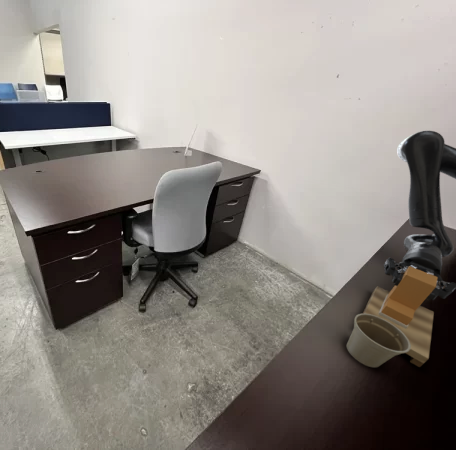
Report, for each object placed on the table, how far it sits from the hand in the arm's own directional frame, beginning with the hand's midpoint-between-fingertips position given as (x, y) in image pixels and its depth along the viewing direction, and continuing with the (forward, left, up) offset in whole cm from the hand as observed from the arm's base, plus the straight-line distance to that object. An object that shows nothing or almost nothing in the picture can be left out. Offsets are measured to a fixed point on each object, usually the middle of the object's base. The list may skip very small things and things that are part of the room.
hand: (413, 289), depth 58 cm
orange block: (0, -1, -8) cm, 8 cm away
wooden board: (0, +1, -12) cm, 12 cm away
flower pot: (+10, +14, -12) cm, 21 cm away
